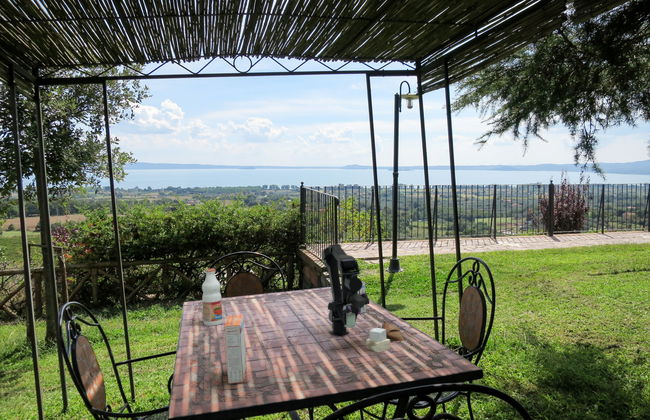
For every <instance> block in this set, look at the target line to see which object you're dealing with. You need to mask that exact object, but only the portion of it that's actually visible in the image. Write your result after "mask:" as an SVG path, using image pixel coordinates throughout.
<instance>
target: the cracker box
mask: <svg viewBox="0 0 650 420" xmlns="http://www.w3.org/2000/svg"><path fill="white" fill-rule="evenodd" d="M223 329H224V340H225V341H224V342H225V355H226V356H225V357H226V372H227V373H226V374H227V383H228V385H230V384H240V383H241V384H242V383H245V378H246V374H247V368H248V367H247V366H248V365H247V350H246V338H245V337H246V335H245V318H244V314H230V315H228V316H227V319H226V322H225V324H224V327H223Z"/></svg>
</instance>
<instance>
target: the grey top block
mask: <svg viewBox="0 0 650 420" xmlns="http://www.w3.org/2000/svg"><path fill="white" fill-rule="evenodd" d="M368 333H369V338H370V341H375V342H382V341H384V340H385V339H386V329H382V327H381V328H380V327H379V328H378V327H374V328H372V329H370V330H369V332H368Z"/></svg>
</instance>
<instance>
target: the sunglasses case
mask: <svg viewBox="0 0 650 420" xmlns="http://www.w3.org/2000/svg"><path fill="white" fill-rule="evenodd" d="M381 329H386V339H389V340H390V342H402V341H405V339H404V336H403V334H402V331H401V328H400V327H398V326H395V325H393V324H392V323H389V322H384V323H382V325H381Z"/></svg>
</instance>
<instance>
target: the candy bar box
mask: <svg viewBox="0 0 650 420" xmlns="http://www.w3.org/2000/svg"><path fill="white" fill-rule="evenodd" d="M366 284H367V283H366V281H362V288H361V289H360V290H359V291H358V294H359V295H360V294H361V295H362V294H365V293H366V294H367V290H366V289H367V288H366ZM348 307H349V309H350V313H351V306H348ZM366 313H367V305H364V307H362V308H361V309H360V310H359V313H358V315H362V314H366Z"/></svg>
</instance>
